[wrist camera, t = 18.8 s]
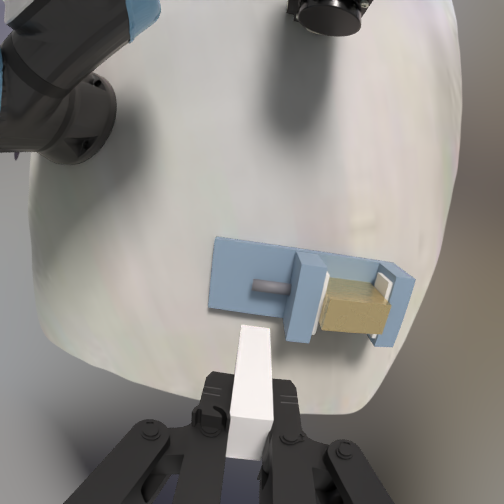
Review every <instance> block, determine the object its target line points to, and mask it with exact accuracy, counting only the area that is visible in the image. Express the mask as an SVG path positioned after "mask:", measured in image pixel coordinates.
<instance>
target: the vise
mask: <svg viewBox="0 0 504 504" xmlns="http://www.w3.org/2000/svg"><path fill="white" fill-rule="evenodd" d="M296 251H300V252H307V253H313V254H318V255H319V256H320V258H321V259H322V261H323V262H324V263H325V265H326V266H327V272H328V273H329V275H330V277H332V278H340V279H347V280H355V281H363V282H370V283H371V284H372V285H373V286H374V287H375V288H376V289H377V290H378V291H379V292H380V293H381V294H382V296H383V297H384V298H385V299H386V300H387V301H388V302H389V303H390V304H391V305H392V306H391V309H390V312H389V315H388V318H387V321H386V324H385V327H384V330H383V333H382V335H381V334H367V335H368V337H369V338H370V340H371V342H372V343H373V345H374V346H375V347H393V345H394V343H395V340H396V338H397V335H398V332H399V329H400V327H401V324H402V321H403V318H404V315H405V312H406V309H407V306H408V303H409V300H410V297H411V294H412V290H413V287H414V283H415V280H416V279H415V278H413V277H412V276H411V275H409V274H408V273H406V272H405V271H404V270H402V269H401V268H400V267H398V266H397V265H396V264H394V263H392V262H386V261H379V260H373V259H366V258H360V257H353V256H347V255H340V254H334V253H327V252H320V251H314V250H307V249H300V248H293V247H286V246H280V245H273V244H266V243H259V242H252V241H245V240H238V239H231V238H224V237H216V238H215V243H214V252H213V262H212V272H211V282H210V292H209V303H208V307H210V308H216V309H222V310H229V311H236V312H242V313H249V314H257V315H264V316H272V317H280V318H283V316H284V311H285V306H286V301H287V296H288V295H280V294H273V293H265V292H258V291H252V284H253V279H260V280H268V281H275V282H282V283H290V281H291V276H292V270H293V265H294V259H295V254H296Z"/></svg>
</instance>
